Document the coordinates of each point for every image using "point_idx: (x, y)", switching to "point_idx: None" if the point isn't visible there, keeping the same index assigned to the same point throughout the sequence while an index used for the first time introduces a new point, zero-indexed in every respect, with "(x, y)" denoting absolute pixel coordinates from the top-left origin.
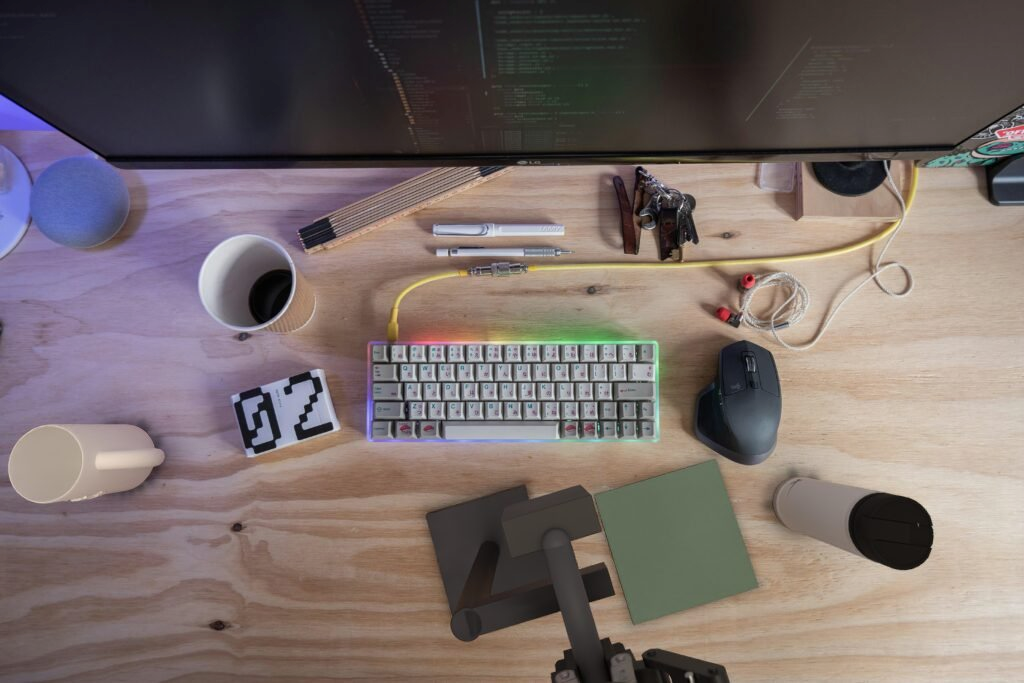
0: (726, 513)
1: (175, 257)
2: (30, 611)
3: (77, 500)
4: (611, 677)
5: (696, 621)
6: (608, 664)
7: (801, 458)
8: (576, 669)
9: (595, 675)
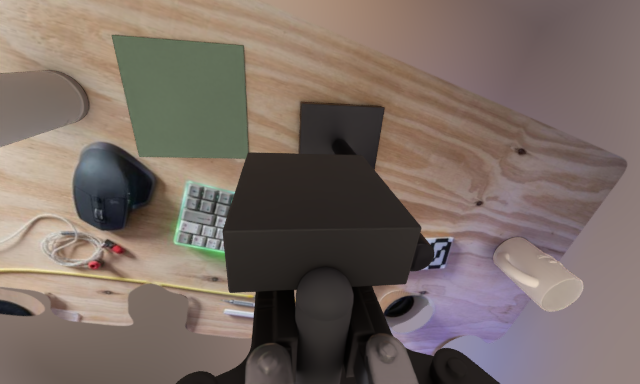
0: (136, 112)
1: (435, 328)
2: (600, 191)
3: (554, 261)
4: (295, 363)
5: (182, 24)
6: (293, 377)
7: (55, 134)
8: (348, 376)
9: (321, 373)
